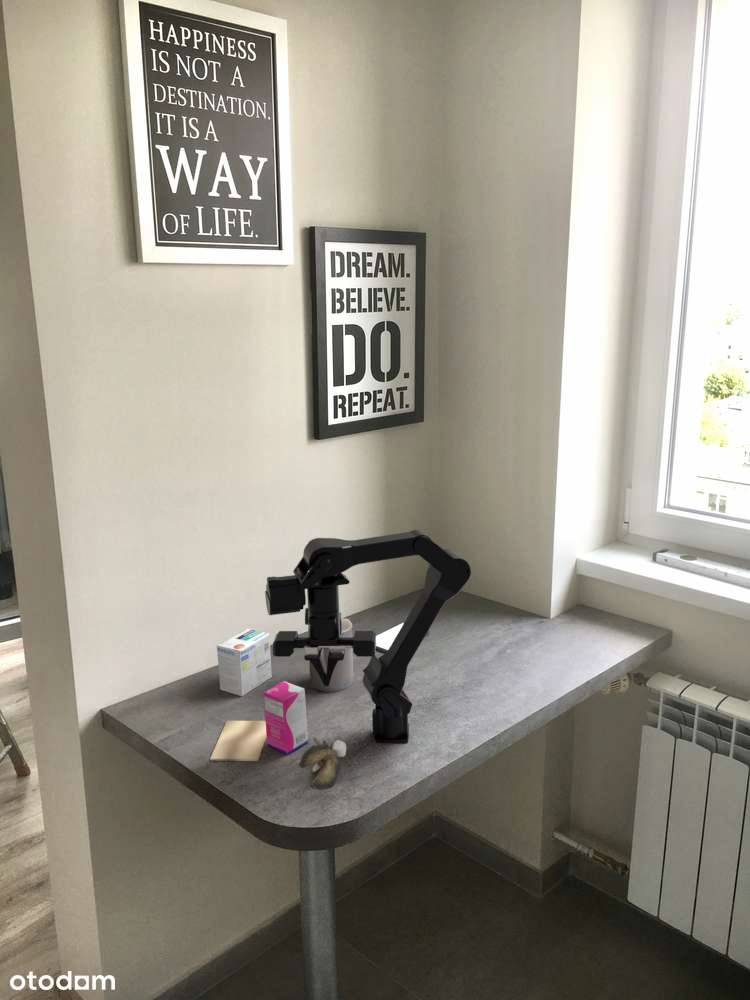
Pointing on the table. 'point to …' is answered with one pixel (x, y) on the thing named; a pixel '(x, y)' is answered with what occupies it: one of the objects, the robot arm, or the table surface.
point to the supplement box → (285, 717)
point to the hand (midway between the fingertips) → (326, 685)
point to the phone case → (388, 638)
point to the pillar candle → (342, 670)
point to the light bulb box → (244, 661)
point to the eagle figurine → (324, 762)
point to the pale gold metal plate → (240, 741)
